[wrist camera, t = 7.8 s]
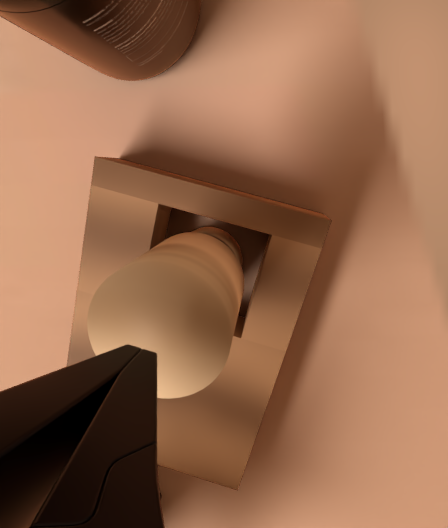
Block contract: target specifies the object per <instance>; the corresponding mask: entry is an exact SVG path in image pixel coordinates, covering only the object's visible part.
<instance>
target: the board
mask: <svg viewBox="0 0 448 528" xmlns="http://www.w3.org/2000/svg"><path fill="white" fill-rule="evenodd" d="M172 207H173V208H176V209H180V210H183V211H187V212H191V213H194V214H198V215H201V216H205V217H209V218H212V219H216V220H220V221H223V222H227V223H230V224H234V225H238V226H241V227H245V228H249V229H252V230H256V231H259V232H263V233H267V234H269V238H268V241H267V244H266V248H265V251H264V254H263V258H262V261H261V265H260V268H259V271H258V275H257V278H256V281H255V285H254V288H253V291H252V295H251V298H250V301H249V305H248V308H247V311H246V315H245V318H244V317H241V316H238V318H237V322H236V326H235V331H234V335H233V339H232V344H231V348H230V352H229V356H228V359H227V362H226V364H225V366H224V368H223V370H222V371H221V373H220V374H219V375H218V377H217V378H216V379H215V380H214V381H213V382H212V383H211V384H209V385H208V386H207V387H205V388H204V389H202V390H200V391H198V392H196V393H194V394H191V395H189V396H185V397H180V398H171V399H167V398H157V462H158V465H160V466H163V467H167V468H170V469H173V470H176V471H179V472H182V473H185V474H188V475H191V476H195V477H198V478H201V479H204V480H207V481H210V482H213V483H216V484H219V485H222V486H226V487H229V488H232V489H235V490H238V487H239V485H240V482H241V479H242V476H243V473H244V470H245V467H246V465H247V462H248V459H249V456H250V453H251V450H252V447H253V444H254V442H255V439H256V436H257V433H258V430H259V427H260V424H261V422H262V419H263V416H264V413H265V410H266V407H267V404H268V402H269V399H270V396H271V393H272V390H273V387H274V384H275V382H276V379H277V376H278V373H279V370H280V367H281V364H282V362H283V359H284V356H285V353H286V350H287V347H288V344H289V341H290V339H291V336H292V333H293V330H294V327H295V324H296V321H297V319H298V316H299V313H300V310H301V307H302V304H303V301H304V299H305V296H306V293H307V290H308V287H309V284H310V281H311V279H312V276H313V273H314V270H315V267H316V264H317V261H318V258H319V256H320V253H321V250H322V247H323V244H324V241H325V238H326V236H327V233H328V230H329V227H330V224H331V220H330V219H329V218H328V217H326V216H325V215H324V214H322V213H318V212H315V211H311V210H307V209H304V208H300V207H296V206H293V205H289V204H285V203H281V202H278V201H274V200H270V199H267V198H263V197H259V196H256V195H252V194H248V193H244V192H241V191H237V190H233V189H230V188H226V187H222V186H219V185H215V184H211V183H207V182H204V181H200V180H196V179H193V178H189V177H185V176H182V175H178V174H174V173H170V172H167V171H163V170H159V169H156V168H152V167H148V166H145V165H141V164H137V163H133V162H130V161H126V160H122V159H119V158H106V157H95V160H94V167H93V174H92V182H91V189H90V197H89V204H88V212H87V219H86V226H85V234H84V241H83V249H82V256H81V264H80V271H79V278H78V286H77V293H76V301H75V308H74V316H73V323H72V330H71V338H70V345H69V353H68V360H67V366H70V365H73V364H75V363H78V362H81V361H83V360H86V359H89V358H91V357H94V356H96V355H95V353H94V351H93V349H92V346H91V343H90V340H89V335H88V327H87V318H88V311H89V306H90V303H91V300H92V298H93V296H94V294H95V292H96V291H97V289H98V288H99V286H100V285H101V284H102V283H103V282H104V281H105V280H106V279H107V278H108V277H109V276H111V275H112V274H114V273H115V272H116V271H118V270H120V269H121V268H123V267H124V266H126V265H127V264H129V263H130V262H132V261H133V260H135V259H137V258H138V257H140V256H141V255H143V254H144V253H146V252H147V251H149V250H150V249H152V248H153V247H155V246H157V245H158V244H160V243H161V242H163V241H164V240H165V237H166V232H167V227H168V222H169V217H170V212H171V208H172Z"/></svg>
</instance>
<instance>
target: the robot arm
mask: <svg viewBox="0 0 448 528" xmlns="http://www.w3.org/2000/svg"><path fill="white" fill-rule="evenodd" d="M0 528H165V527H164V520H163V514H162V508H161V493H160V492H159V483H158V462H157V353H156V352H153V351H149V350H146V349H141V348H139V347H136V346H133V345H129V344H127V345H124V346H121V347H118V348H116V349H113V350H110V351H108V352H105V353H102V354H99V355H97V356H94V357H91V358H89V359H86V360H83V361H81V362H78V363H75V364H73V365H70V366H67V367H65V368H62V369H59V370H57V371H54V372H51V373H49V374H46V375H43V376H41V377H38V378H35V379H33V380H30V381H27V382H25V383H22V384H19V385H17V386H14V387H11V388H9V389H6V390H3V391H1V392H0Z"/></svg>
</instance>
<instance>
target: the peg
mask: <svg viewBox="0 0 448 528" xmlns="http://www.w3.org/2000/svg"><path fill="white" fill-rule="evenodd" d="M241 267H242V253H241V249H240V247H239V245H238V243H237V242H236V240H235V239H234V238H233V237H232V236H231V235H230V234H229V233H227V232H226V231H224V230H222V229H219V228H215V227H202V228H198V229H196V230H194V231H192V232H185V233H180V234H177V235H174V236H171V237H169V238H167V239H166V240H164V241H163V242H161V243H160V244H158V245H157V246H155V247H153V248H152V249H150V250H149V251H147V252H146V253H144V254H143V255H141V256H140V257H138V258H137V259H135V260H133V261H132V262H130V263H129V264H127V265H126V266H124V267H123V268H121V269H120V270H118V271H116V272H115V273H114V274H112V275H111V276H109V277H108V278H107V279H106V280H105V281H104V282H103V283H102V284H101V285H100V286H99V288H98V289H97V291H96V292H95V294H94V296H93V298H92V300H91V303H90V306H89V311H88V318H87V327H88V335H89V340H90V343H91V346H92V349H93V351H94V353H95V355H96V356H97V355H99V354H102V353H105V352H108V351H110V350H113V349H116V348H118V347H121V346H124V345H127V344H129V345H133V346H136V347H139V348H141V349H146V350H149V351H153V352H156V353H157V398H167V399H171V398H180V397H185V396H189V395H191V394H194V393H196V392H198V391H200V390H202V389H204V388H205V387H207V386H208V385H209V384H211V383H212V382H213V381H214V380H215V379H216V378H217V377H218V375H219V374H220V373H221V371H222V370H223V368H224V366H225V364H226V362H227V359H228V356H229V352H230V348H231V344H232V339H233V335H234V331H235V326H236V322H237V318H238V313H239V309H240V305H241V300H242V296H243V291H244V276H243V271H242V268H241Z"/></svg>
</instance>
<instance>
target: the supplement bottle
mask: <svg viewBox="0 0 448 528" xmlns="http://www.w3.org/2000/svg"><path fill="white" fill-rule="evenodd" d="M200 10H201V0H0V16H1V17H2V18H4V19H6V20H8V21H10V22H11V23H13V24H15V25H17V26H18V27H20V28H22V29H24V30H25V31H27V32H29V33H31V34H33V35H34V36H36V37H38V38H40V39H41V40H43V41H45V42H47V43H48V44H50V45H52V46H54V47H56V48H57V49H59V50H61V51H63V52H64V53H66V54H68V55H70V56H71V57H73V58H75V59H77V60H79V61H80V62H82V63H84V64H86V65H87V66H90V67H91V68H93V69H95V70H97V71H99V72H101V73H103V74H105V75H107V76H110V77H113V78H116V79H120V80H127V81H137V80H144V79H148V78H151V77H154V76H156V75H158V74H160V73H162V72H164V71H165V70H167V69H168V68H169V67H171V66H172V65H173V64H174V63H175V62H176V61H177V60H178V59H179V58H180V57H181V56H182V54H183V53H184V52H185V50H186V49H187V47H188V45H189V44H190V42H191V40H192V38H193V35H194V33H195V30H196V27H197V24H198V20H199V16H200Z"/></svg>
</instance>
